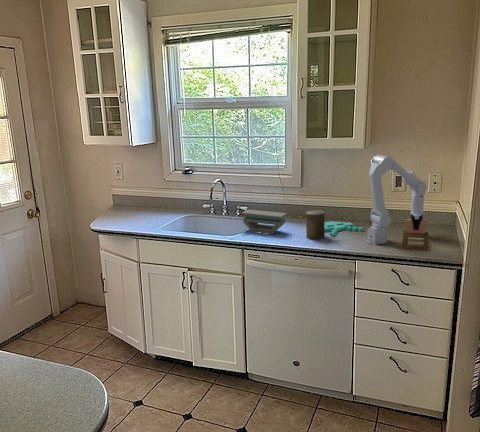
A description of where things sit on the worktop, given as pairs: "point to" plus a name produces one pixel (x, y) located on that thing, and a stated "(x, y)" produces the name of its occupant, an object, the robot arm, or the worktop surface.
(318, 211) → the pillar candle
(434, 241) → the worktop surface
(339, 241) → the worktop surface
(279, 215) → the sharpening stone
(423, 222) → the salmon rectangular slab
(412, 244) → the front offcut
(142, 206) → the worktop surface
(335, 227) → the teal pixel toy sword
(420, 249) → the rack
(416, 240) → the offcut
